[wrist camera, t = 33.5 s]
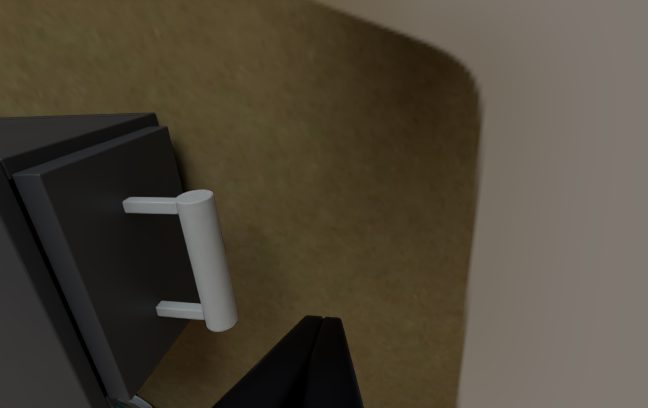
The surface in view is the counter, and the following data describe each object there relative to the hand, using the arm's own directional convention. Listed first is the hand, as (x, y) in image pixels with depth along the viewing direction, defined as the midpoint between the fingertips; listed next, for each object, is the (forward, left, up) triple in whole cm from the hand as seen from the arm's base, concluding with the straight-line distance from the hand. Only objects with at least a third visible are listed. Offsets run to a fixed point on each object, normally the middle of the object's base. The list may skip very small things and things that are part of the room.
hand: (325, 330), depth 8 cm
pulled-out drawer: (+3, -15, -11) cm, 19 cm away
